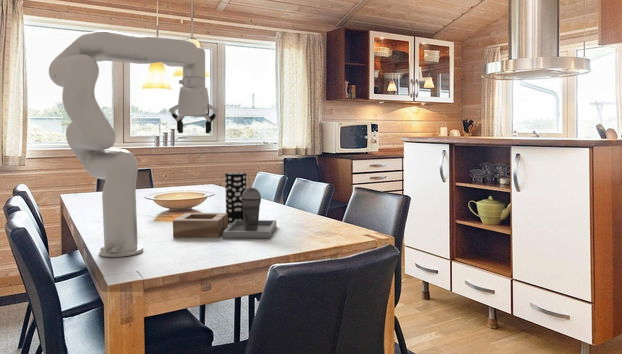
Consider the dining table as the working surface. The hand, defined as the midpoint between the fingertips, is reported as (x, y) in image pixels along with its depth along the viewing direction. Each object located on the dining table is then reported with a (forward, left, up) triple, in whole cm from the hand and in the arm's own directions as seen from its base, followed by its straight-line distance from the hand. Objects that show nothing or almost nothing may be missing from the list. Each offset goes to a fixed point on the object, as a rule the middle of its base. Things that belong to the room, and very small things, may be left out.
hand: (194, 133), depth 173 cm
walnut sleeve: (+5, -1, -36) cm, 36 cm away
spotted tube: (+25, -10, -36) cm, 45 cm away
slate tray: (+6, -19, -36) cm, 41 cm away
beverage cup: (+6, -18, -36) cm, 40 cm away
